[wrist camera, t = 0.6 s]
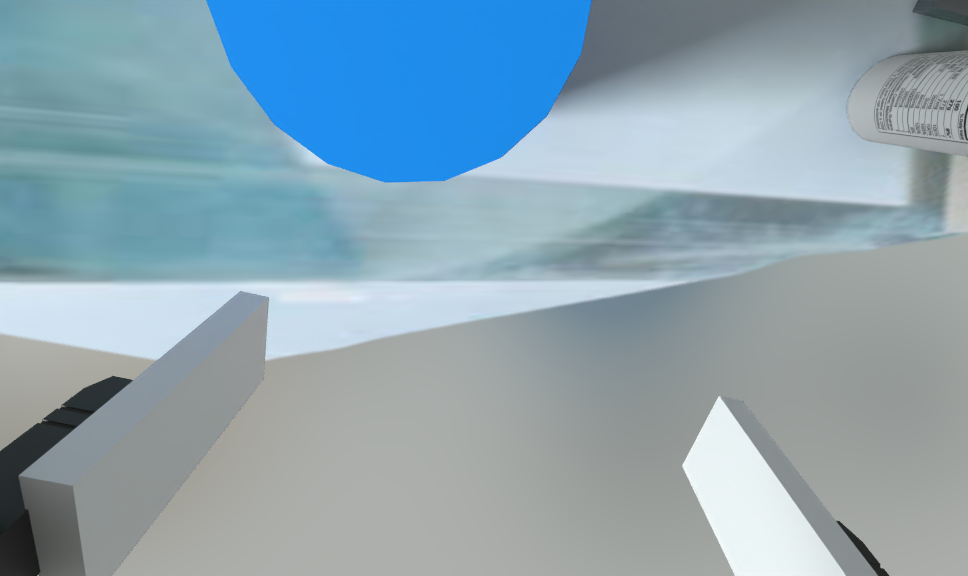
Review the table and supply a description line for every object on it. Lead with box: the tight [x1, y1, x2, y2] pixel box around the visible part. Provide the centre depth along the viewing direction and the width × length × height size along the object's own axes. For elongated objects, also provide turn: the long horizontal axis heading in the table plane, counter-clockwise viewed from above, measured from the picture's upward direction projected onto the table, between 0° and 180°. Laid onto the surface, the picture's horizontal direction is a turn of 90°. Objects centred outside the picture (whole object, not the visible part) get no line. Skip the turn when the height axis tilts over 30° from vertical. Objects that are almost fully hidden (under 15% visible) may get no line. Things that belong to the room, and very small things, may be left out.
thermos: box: [206, 0, 592, 182], centre depth 24 cm, size 11×11×25 cm
